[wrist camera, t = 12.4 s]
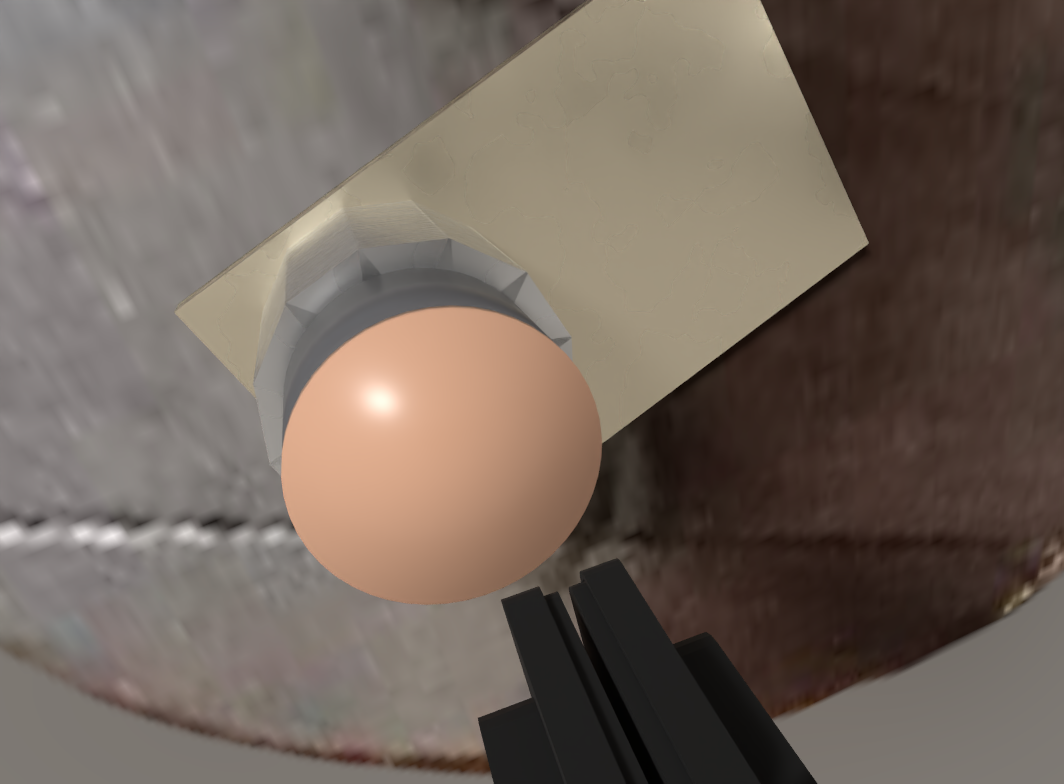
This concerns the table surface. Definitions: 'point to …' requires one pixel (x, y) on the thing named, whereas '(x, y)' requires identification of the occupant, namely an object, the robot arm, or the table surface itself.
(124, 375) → the table surface
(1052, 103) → the table surface
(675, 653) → the robot arm
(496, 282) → the cylinder on base plate
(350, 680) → the table surface
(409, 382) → the peach ball on collar
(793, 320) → the table surface
